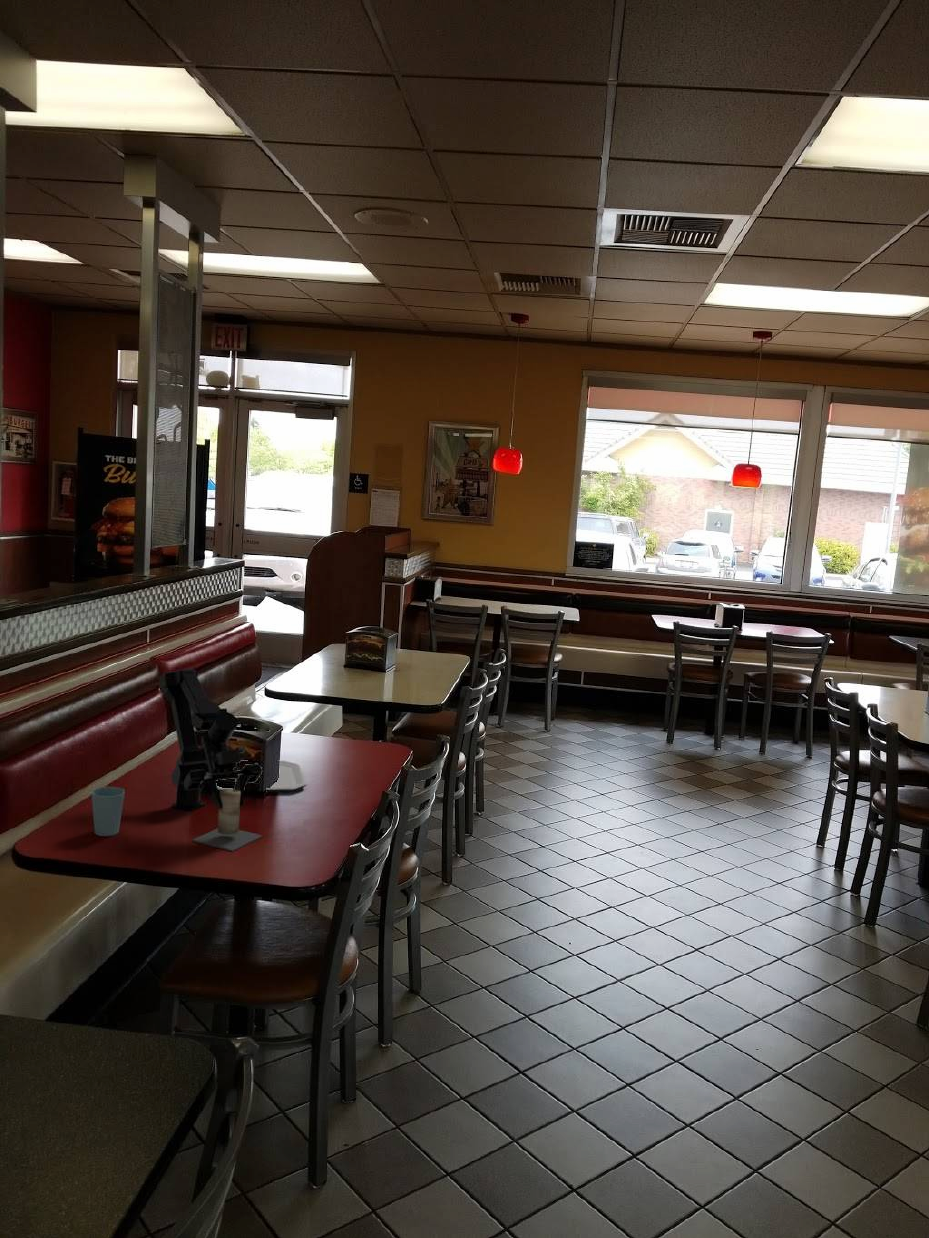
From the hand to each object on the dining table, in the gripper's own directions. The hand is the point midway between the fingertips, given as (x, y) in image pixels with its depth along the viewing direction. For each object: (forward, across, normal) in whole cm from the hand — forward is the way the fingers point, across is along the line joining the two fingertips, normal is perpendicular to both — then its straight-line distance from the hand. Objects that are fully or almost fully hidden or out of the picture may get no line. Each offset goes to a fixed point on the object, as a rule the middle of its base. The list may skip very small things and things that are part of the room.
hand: (231, 806), depth 234 cm
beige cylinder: (+4, 0, +6) cm, 7 cm away
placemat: (+5, 0, +7) cm, 9 cm away
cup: (-6, -25, +18) cm, 31 cm away
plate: (-24, +26, +38) cm, 52 cm away
